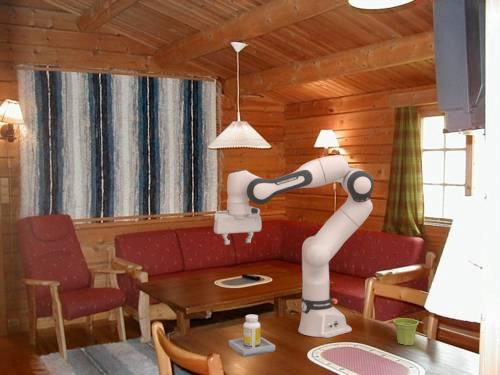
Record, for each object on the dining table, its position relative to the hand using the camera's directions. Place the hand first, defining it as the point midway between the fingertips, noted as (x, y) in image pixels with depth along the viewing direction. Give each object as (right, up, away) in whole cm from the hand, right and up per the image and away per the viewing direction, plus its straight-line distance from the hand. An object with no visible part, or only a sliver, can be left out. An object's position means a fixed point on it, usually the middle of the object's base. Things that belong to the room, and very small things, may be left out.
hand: (237, 243), depth 219 cm
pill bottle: (+6, -37, -15) cm, 41 cm away
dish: (+6, -38, -15) cm, 41 cm away
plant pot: (+65, -38, -9) cm, 76 cm away
